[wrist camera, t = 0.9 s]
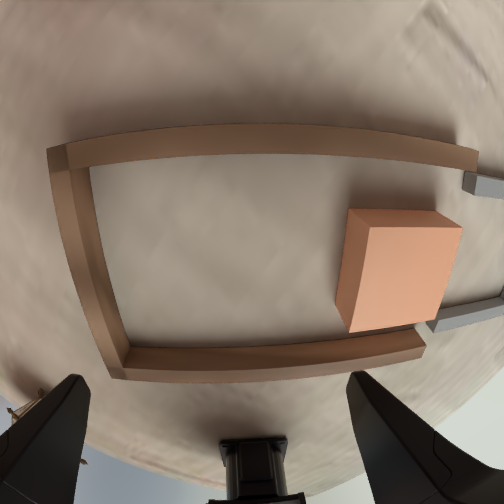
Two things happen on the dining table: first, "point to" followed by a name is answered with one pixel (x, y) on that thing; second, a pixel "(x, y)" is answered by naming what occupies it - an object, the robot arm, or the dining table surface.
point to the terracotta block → (394, 267)
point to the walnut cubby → (214, 143)
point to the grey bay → (480, 309)
